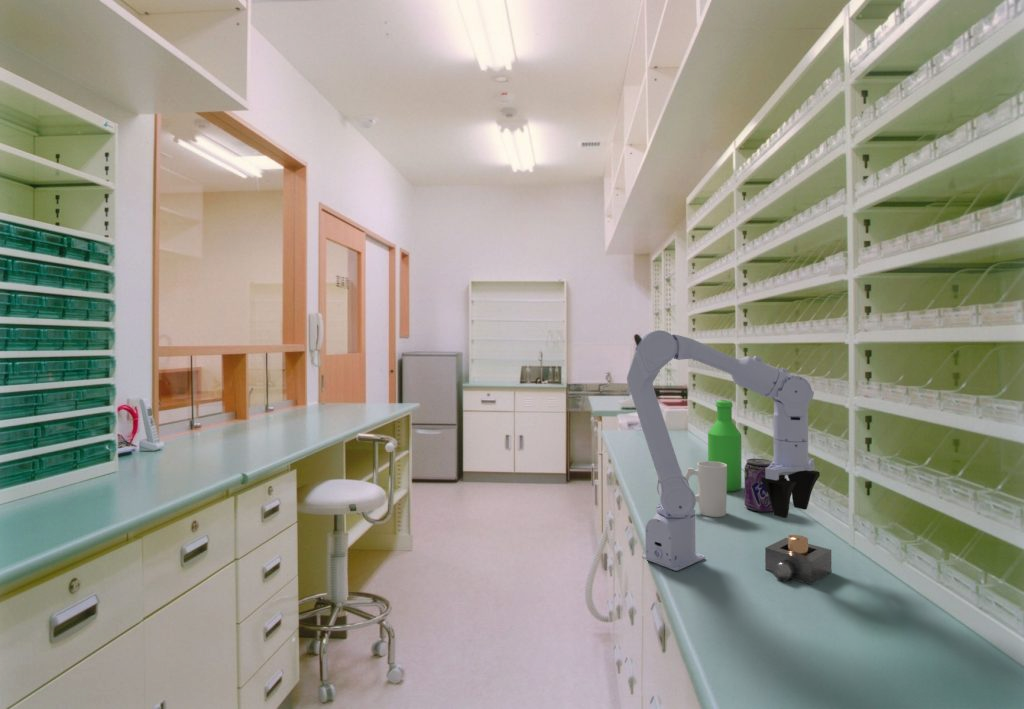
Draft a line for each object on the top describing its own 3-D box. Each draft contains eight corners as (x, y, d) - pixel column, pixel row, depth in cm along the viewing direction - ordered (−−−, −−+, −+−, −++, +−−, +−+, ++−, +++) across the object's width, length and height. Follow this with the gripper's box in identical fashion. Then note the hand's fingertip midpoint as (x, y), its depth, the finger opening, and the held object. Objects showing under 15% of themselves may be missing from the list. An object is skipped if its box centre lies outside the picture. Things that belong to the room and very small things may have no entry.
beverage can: (743, 511, 132) (743, 462, 132) (745, 503, 138) (745, 457, 138) (775, 515, 128) (775, 465, 128) (776, 507, 135) (776, 459, 134)
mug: (724, 509, 133) (724, 461, 133) (729, 518, 126) (729, 467, 126) (682, 507, 135) (682, 460, 135) (685, 516, 128) (684, 466, 128)
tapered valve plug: (802, 576, 95) (802, 542, 95) (784, 570, 97) (784, 537, 97) (811, 571, 97) (811, 538, 97) (793, 565, 99) (793, 533, 99)
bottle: (701, 486, 155) (701, 400, 154) (723, 482, 158) (723, 398, 158) (725, 494, 147) (725, 403, 146) (748, 490, 150) (748, 401, 150)
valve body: (804, 588, 90) (804, 565, 90) (758, 573, 96) (758, 551, 96) (837, 568, 98) (837, 546, 98) (792, 555, 104) (792, 534, 104)
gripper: (793, 447, 92) (793, 526, 92) (831, 437, 100) (831, 509, 101) (754, 441, 97) (754, 515, 97) (792, 433, 106) (792, 501, 106)
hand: (790, 512), depth 99 cm, fingers open, 7 cm apart
